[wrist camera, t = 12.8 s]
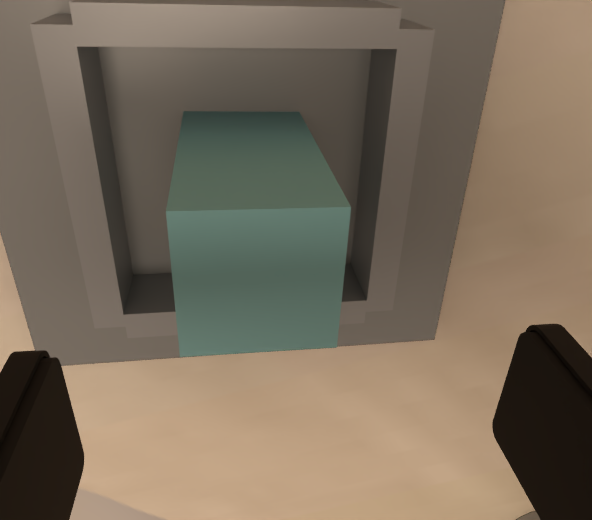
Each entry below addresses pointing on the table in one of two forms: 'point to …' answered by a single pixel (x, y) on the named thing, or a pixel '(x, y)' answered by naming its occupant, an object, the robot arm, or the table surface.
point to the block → (254, 235)
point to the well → (229, 97)
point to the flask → (530, 516)
